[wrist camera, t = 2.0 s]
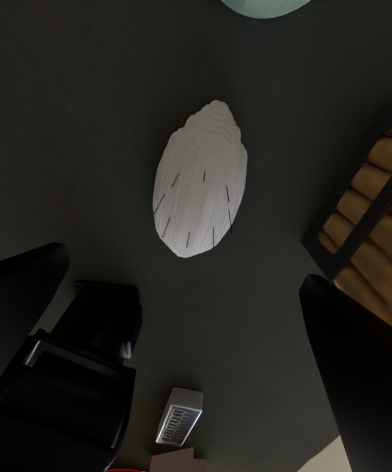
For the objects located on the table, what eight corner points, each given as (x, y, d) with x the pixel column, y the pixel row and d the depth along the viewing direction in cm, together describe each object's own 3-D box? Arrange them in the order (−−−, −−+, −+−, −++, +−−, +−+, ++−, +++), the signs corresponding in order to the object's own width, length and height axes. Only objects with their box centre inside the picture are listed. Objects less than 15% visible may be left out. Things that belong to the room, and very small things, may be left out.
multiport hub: (203, 392, 33) (202, 411, 31) (182, 430, 40) (181, 447, 38) (173, 386, 32) (171, 404, 30) (158, 425, 40) (155, 442, 38)
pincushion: (215, 260, 20) (215, 310, 16) (149, 245, 20) (128, 291, 15) (266, 114, 14) (294, 120, 9) (172, 88, 14) (150, 80, 9)
